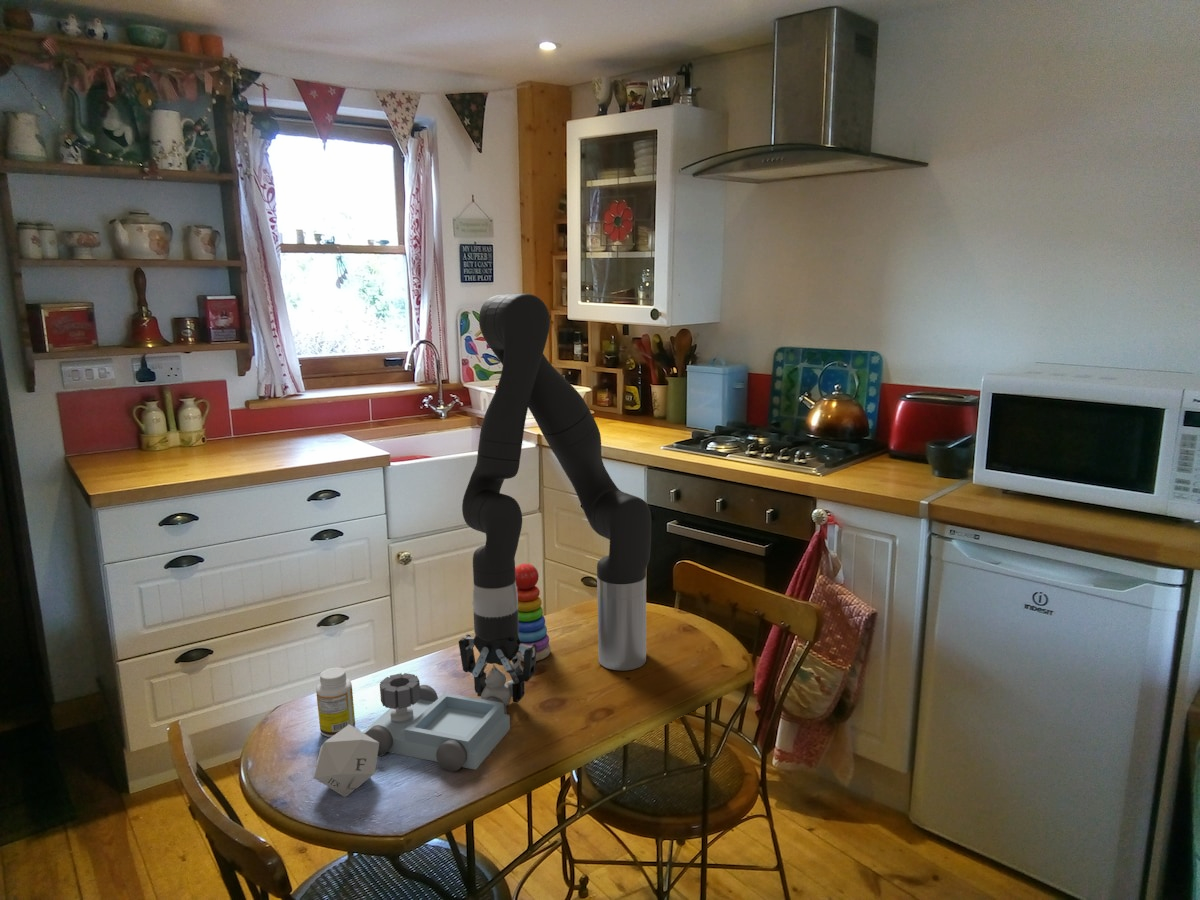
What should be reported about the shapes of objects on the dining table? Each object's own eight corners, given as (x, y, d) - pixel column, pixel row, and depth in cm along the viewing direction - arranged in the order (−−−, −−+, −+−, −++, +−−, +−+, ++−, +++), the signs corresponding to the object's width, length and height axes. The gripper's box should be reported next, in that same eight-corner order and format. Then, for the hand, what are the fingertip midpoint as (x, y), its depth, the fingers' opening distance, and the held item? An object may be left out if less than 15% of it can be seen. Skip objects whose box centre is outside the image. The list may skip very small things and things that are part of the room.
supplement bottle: (336, 718, 138) (331, 662, 136) (362, 724, 136) (357, 668, 134) (312, 735, 133) (307, 677, 131) (339, 742, 131) (334, 683, 129)
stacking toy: (532, 642, 166) (529, 554, 162) (559, 654, 161) (556, 563, 157) (501, 655, 161) (498, 564, 157) (528, 667, 155) (525, 574, 151)
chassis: (409, 705, 142) (407, 672, 141) (514, 723, 136) (512, 689, 134) (356, 752, 128) (353, 716, 127) (470, 775, 122) (468, 738, 120)
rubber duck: (476, 703, 143) (474, 661, 141) (511, 693, 146) (509, 652, 144) (488, 717, 138) (486, 673, 136) (524, 706, 141) (522, 664, 140)
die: (308, 809, 116) (337, 768, 112) (301, 752, 122) (329, 712, 118) (365, 806, 121) (394, 767, 117) (355, 752, 127) (383, 713, 123)
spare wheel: (395, 687, 137) (394, 671, 136) (426, 693, 135) (425, 676, 134) (374, 705, 131) (372, 688, 131) (406, 711, 129) (405, 693, 129)
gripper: (543, 603, 139) (546, 693, 143) (468, 593, 144) (472, 681, 147) (525, 620, 132) (528, 715, 136) (447, 609, 137) (452, 701, 140)
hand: (499, 697), depth 142 cm, fingers open, 6 cm apart
